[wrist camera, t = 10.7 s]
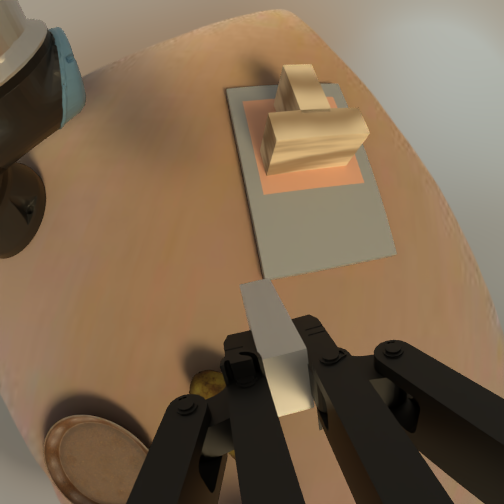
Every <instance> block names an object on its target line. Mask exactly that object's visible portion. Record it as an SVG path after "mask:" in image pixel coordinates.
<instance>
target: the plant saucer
mask: <svg viewBox="0 0 504 504" xmlns="http://www.w3.org/2000/svg"><path fill="white" fill-rule="evenodd" d="M43 451H44V452H43V454H44V461H45V465H46V468H47V471H48V473H49V476H50V478H51V479H52V481H53V483H54V484H55V486H56V487H57V489H58V490H59V491H60V492H61V493H62V495H63V496H64V497H65V498H66V499H67V500H68V501H69V502H71V503H72V504H126V502H127V500H128V498H129V495H130V493H131V491H132V488H133V486H134V484H135V481H136V479H137V477H138V474H139V472H140V470H141V467H142V465H143V463H144V460H145V458H146V456H147V453H148V451H149V450H148V448H147V447H146V446H145V445H144V444H143V443H142V442H141V441H140V440H139V439H138V438H137V437H136V436H134V435H133V434H132V433H130V432H129V431H128V430H126V429H125V428H123V427H121V426H120V425H118V424H116V423H114V422H112V421H109V420H107V419H104V418H101V417H97V416H92V415H72V416H68V417H65V418H63V419H61V420H59V421H58V422H56V423H55V424H54V425H53V426H52V427H51V428H50V430H49V431H48V433H47V435H46V438H45V442H44V448H43Z"/></svg>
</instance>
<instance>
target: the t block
mask: <svg viewBox="0 0 504 504" xmlns="http://www.w3.org/2000/svg"><path fill="white" fill-rule="evenodd" d="M274 107H275V110H276V112H272V113H268V116H267V121H266V125H265V130H264V134H263V139H262V143H261V148H260V153H261V157H262V161H263V165H264V168H265V172H266V176H269V175H276V174H283V173H290V172H297V171H305V170H313V169H321V168H329V167H338V166H346V165H347V164H348V162H349V161H350V160H351V158H352V157H353V156H354V154H355V153H356V152H357V150H358V149H359V148H360V146H361V145H362V143H363V142H364V141H365V139H366V138H367V137H368V135H369V134H370V132H369V130H368V127H367V125H366V123H365V120H364V118H363V116H362V114H361V111H360V109H359V108H331V107H330V105H329V103H328V100H327V98H326V96H325V93H324V91H323V89H322V87H321V84H320V82H319V80H318V78H317V75H316V73H315V71H314V69H313V67H312V65H311V64H298V65H283V67H282V72H281V76H280V80H279V84H278V88H277V93H276V97H275V101H274Z"/></svg>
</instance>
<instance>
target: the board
mask: <svg viewBox="0 0 504 504" xmlns="http://www.w3.org/2000/svg"><path fill="white" fill-rule="evenodd" d="M321 87H322V89H323V91H324V93H325V96H326V98H327V100H328V103H329V105H330V107H331V108H348V105H347V103H346V101H345V98H344V96H343V94H342V91H341V89H340V87H339V85H338V84H321ZM277 88H278V85H266V86H252V87H240V88H230V89H226V96H227V101H228V106H229V111H230V115H231V120H232V125H233V130H234V135H235V140H236V145H237V150H238V155H239V160H240V165H241V170H242V174H243V179H244V184H245V189H246V194H247V199H248V204H249V209H250V214H251V219H252V224H253V229H254V234H255V239H256V244H257V249H258V254H259V259H260V265H261V270H262V275H263V279H267V278H269V279H270V280H275V279H280V278H285V277H291V276H296V275H301V274H307V273H312V272H317V271H322V270H327V269H332V268H337V267H342V266H347V265H352V264H357V263H362V262H367V261H372V260H377V259H382V258H386V257H391V256H394V255H396V254H397V253H396V249H395V245H394V241H393V237H392V234H391V230H390V226H389V223H388V219H387V216H386V213H385V209H384V206H383V203H382V199H381V196H380V193H379V190H378V187H377V184H376V181H375V178H374V175H373V172H372V169H371V166H370V163H369V160H368V157H367V154H366V152H365V149H364V146H363V143H362V145H361V146H360V148H359V149H358V150H357V152H356V153H355V154H354V156H353V157H352V158H351V160H350V161H349V162H348V164H347V165H346V166H338V167H329V168H321V169H313V170H305V171H297V172H290V173H283V174H276V175H269V176H266V172H265V168H264V165H263V161H262V157H261V153H260V148H261V143H262V139H263V134H264V130H265V125H266V121H267V116H268V113H272V112H276V110H275V107H274V101H275V97H276V93H277Z"/></svg>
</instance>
